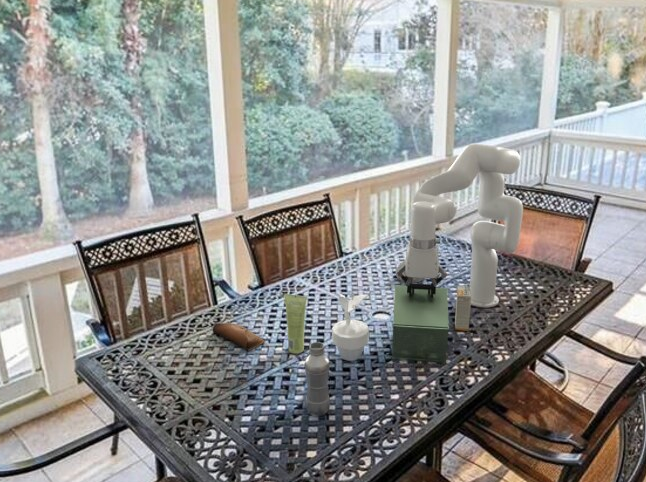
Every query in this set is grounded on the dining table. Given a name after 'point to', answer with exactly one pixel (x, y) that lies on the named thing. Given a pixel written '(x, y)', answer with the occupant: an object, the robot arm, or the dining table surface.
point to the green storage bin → (420, 344)
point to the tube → (295, 321)
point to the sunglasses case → (238, 335)
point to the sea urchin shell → (405, 274)
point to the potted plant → (350, 330)
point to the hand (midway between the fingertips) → (421, 294)
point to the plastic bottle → (317, 380)
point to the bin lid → (421, 307)
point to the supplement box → (463, 308)
